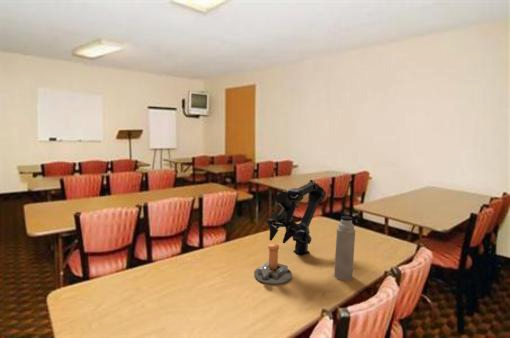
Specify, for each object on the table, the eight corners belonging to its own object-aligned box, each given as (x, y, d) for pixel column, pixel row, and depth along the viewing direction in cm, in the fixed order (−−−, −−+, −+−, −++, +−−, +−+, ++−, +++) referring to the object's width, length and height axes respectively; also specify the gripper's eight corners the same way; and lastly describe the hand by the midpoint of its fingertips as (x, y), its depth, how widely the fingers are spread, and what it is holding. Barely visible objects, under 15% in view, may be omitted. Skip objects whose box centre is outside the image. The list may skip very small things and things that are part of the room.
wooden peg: (277, 270, 149) (277, 243, 147) (279, 275, 144) (279, 247, 142) (266, 270, 148) (267, 243, 146) (268, 275, 143) (269, 247, 141)
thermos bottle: (335, 271, 151) (338, 213, 147) (352, 274, 149) (356, 215, 145) (333, 278, 144) (336, 218, 140) (351, 282, 141) (355, 220, 137)
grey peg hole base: (265, 264, 158) (266, 251, 157) (297, 273, 149) (298, 259, 148) (247, 277, 143) (247, 264, 142) (280, 288, 134) (281, 273, 134)
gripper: (264, 203, 161) (253, 232, 156) (291, 205, 147) (279, 237, 141) (279, 213, 167) (268, 241, 162) (305, 216, 153) (294, 247, 147)
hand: (276, 241), depth 153 cm, fingers open, 9 cm apart
